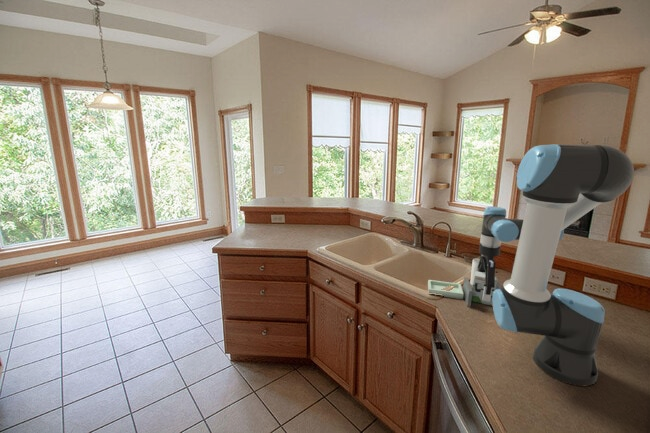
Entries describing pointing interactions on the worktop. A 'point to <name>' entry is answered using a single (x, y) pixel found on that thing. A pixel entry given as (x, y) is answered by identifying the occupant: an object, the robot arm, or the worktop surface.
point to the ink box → (481, 288)
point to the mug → (474, 269)
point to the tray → (438, 285)
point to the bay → (468, 291)
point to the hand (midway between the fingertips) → (482, 293)
